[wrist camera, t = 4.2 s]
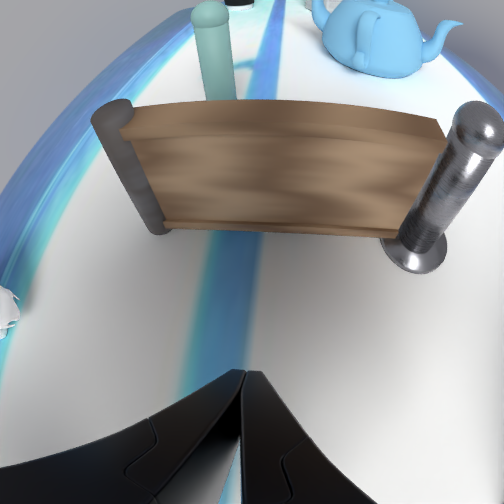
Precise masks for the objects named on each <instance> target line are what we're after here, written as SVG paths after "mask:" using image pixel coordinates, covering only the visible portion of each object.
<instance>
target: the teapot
mask: <svg viewBox="0 0 504 504" xmlns="http://www.w3.org/2000/svg"><path fill="white" fill-rule="evenodd" d="M312 18H313V20H314V23H315V24H316V26H317V27H318V28H319V29H320V30H321V31H322V32H323V34H322V41H323V44H324V46H325V47H326V48H327V50H328V51H329V52H330V54H331V55H332V56H333V57H334V58H335V59H336V60H337V61H339V62H340V63H342V64H344V65H346V66H348V67H350V68H352V69H355V70H357V71H360V72H363V73H367V74H370V75H374V76H379V77H385V78H403V77H406V76H408V75H410V74H412V73H414V72H416V71H418V70H419V69H420V68H421V66H422V63H426V62H430V61H432V60H434V59H435V58H436V57H437V56H438V55H439V53H440V52H441V50H442V47H443V44H444V41H445V38H446V35H447V33H448V32H449V30H450V29H452V28H453V27H455V26H458V25H462V24H463V23H461V22H457V21H451V20H443V21H442V22H440V23H439V24H438V26H437V28H436V31H435V34H434V36H433V38H432V39H431V40H429V41H425V42H423V40H422V36H421V33H420V30H419V27H418V25H417V22H416V20H415V18H414V16H413V14H412V12H411V11H410V10H409V9H408V8H406V7H405V6H403V5H401V4H398V3H396V2H393V0H342V1H341V2H340V4H339V5H338V6H337V7H336V8H335V9H334V10H333V12H332V13H330V12H329V11H328V10H327V9H326V8H325V5H324V1H323V0H312Z"/></svg>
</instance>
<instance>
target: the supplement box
mask: <svg viewBox="0 0 504 504" xmlns="http://www.w3.org/2000/svg"><path fill="white" fill-rule="evenodd" d="M323 1H324V5H325V8H326V9H327V10H328V11H329V12H330V13H332V12H333V10H334V9H335V8H336V7H337V6H338V5H339V4H340V2H341V1H342V0H323ZM305 8H307V9H309V10H311V11H312V0H306V5H305Z"/></svg>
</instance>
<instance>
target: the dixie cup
mask: <svg viewBox="0 0 504 504" xmlns="http://www.w3.org/2000/svg"><path fill="white" fill-rule="evenodd" d="M224 1H225V5H227V9H228V10H233V11H239V10H247V9H251V8H252V7H253V3H254V0H224Z"/></svg>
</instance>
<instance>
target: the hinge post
mask: <svg viewBox="0 0 504 504" xmlns="http://www.w3.org/2000/svg"><path fill="white" fill-rule="evenodd" d="M446 139H447V142H448V143H447V145H446V147H445V149H444V151H443V153H439V155H438V157H437V159H436V161H435V163H434V165H433V167H432V169H431V171H430V173H429V175H428V177H427V179H426V181H425V183H424V185H423V187H422V188H421V190H420V192H419V194H418V196H417V198H416V199H415V201H414V203H413V205H412V207H411V208H410V210H409V212H408V214H407V215H406V217H405V219H404V221H403V222H402V224H401V226H400V228H399V229H398V231H399V233H398V235H397V236H396V238H395V239H393V238H380V240H381V244H382V246H383V248H384V251H385V252H386V254H387V255H388V257H389V258H390V259H391V260H392V261H393V262H394V263H395V264H396V265H397V266H399V267H400V268H402V269H404V270H406V271H408V272H411V273H415V274H425V273H429V272H432V271H434V270H435V269H436V268H438V267H439V266H440V264H441V263H442V262H443V261H444V259H445V256H446V253H447V241H446V237H445V234H444V231H445V230H446V229H447V227H448V226H449V225H450V223H451V222H452V221H453V220H454V218H455V217H456V215H457V214H458V213H459V211H460V210H461V209H462V207H463V206H464V204H465V203H466V202H467V200H468V199H469V197H470V196H471V195H472V193H473V192H474V190H475V189H476V187H477V186H478V184H479V183H480V181H481V180H482V178H483V177H484V175H485V174H486V172H487V171H488V169H489V167H490V166H491V164H492V163H493V161H494V159H495V158H496V157H497V156H498V155H499V154H500V153H501V152H502V150H503V148H504V122H503V119H502V118H501V116H500V114H499V113H498V112H497V111H496V110H495V109H494V108H493V107H492V106H490V105H489V104H487V103H484V102H481V101H470V102H466V103H464V104H463V105H461V106H460V107H459V108H458V109H457V111H456V112H455V114H454V117H453V121H452V126H451V129H450V131H449V133H448V135H447V137H446Z"/></svg>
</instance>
